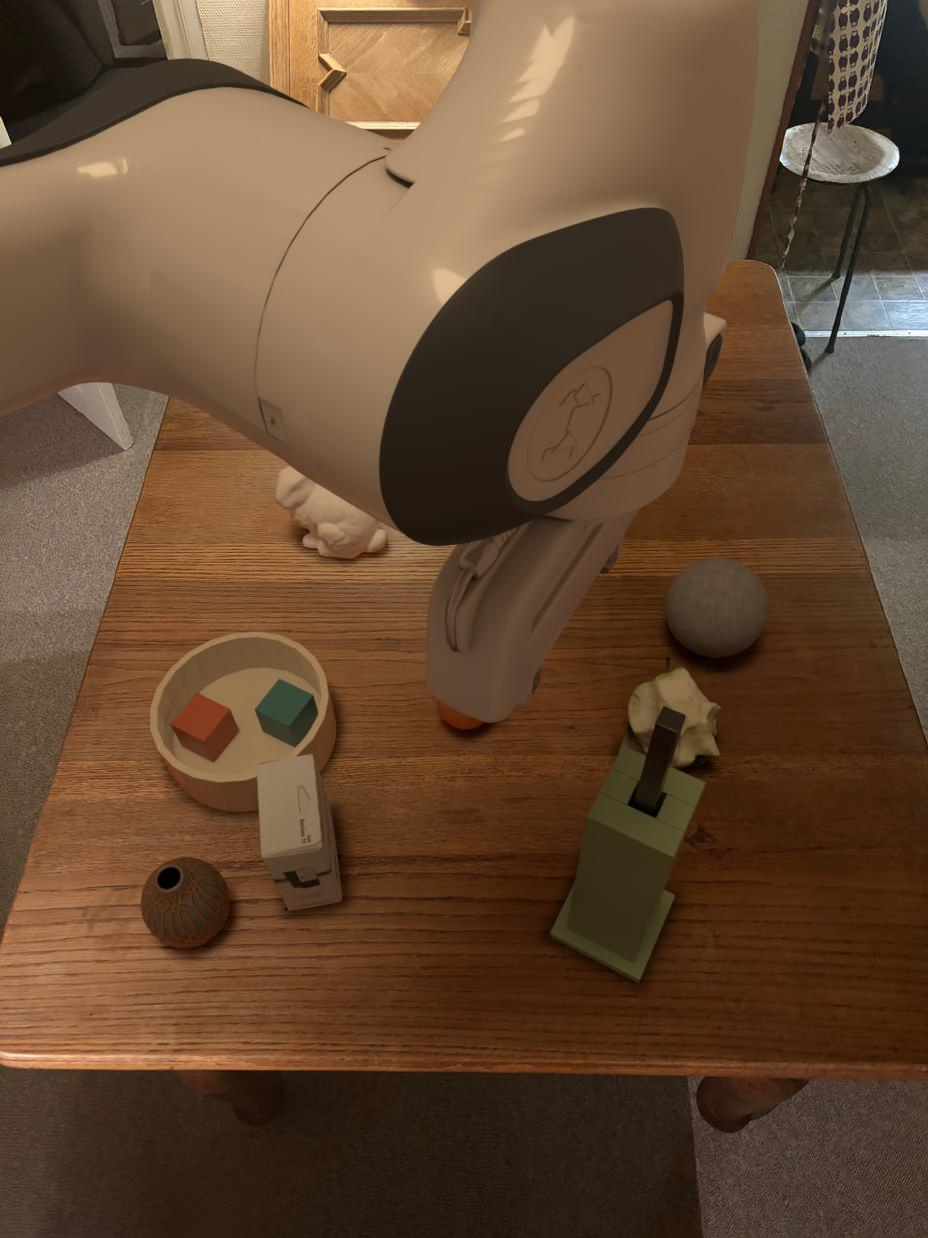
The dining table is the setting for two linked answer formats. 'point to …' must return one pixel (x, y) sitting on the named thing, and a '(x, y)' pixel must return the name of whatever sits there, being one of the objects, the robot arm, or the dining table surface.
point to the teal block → (287, 712)
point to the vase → (185, 902)
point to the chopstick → (658, 760)
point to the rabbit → (327, 518)
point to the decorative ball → (717, 607)
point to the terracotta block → (205, 727)
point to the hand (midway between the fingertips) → (560, 622)
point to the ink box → (298, 832)
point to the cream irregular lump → (683, 698)
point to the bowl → (239, 714)
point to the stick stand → (626, 868)
